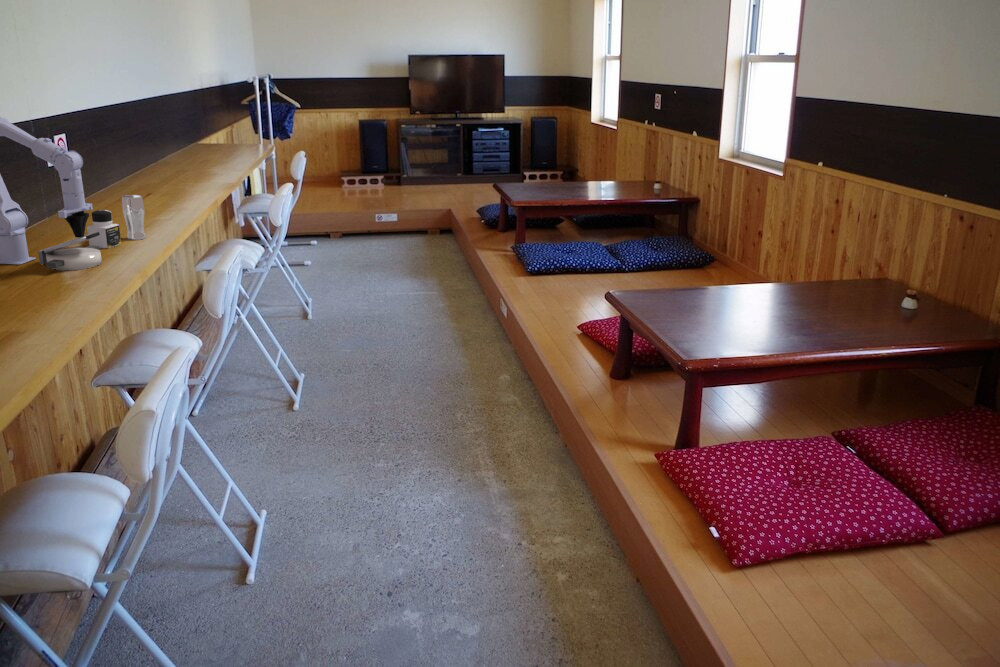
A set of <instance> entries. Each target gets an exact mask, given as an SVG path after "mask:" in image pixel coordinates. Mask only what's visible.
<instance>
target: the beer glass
mask: <svg viewBox="0 0 1000 667" xmlns="http://www.w3.org/2000/svg"><path fill="white" fill-rule="evenodd" d="M143 199H144V198H143V196H142V195H140V194H125V195H122V196H121V207H122V214H123V217H124V221H125V224H126V228H127V235H126V236H127V237H126V239H127V240H128V241H129V240H130V241H141V240H145V239H146V237H147V236H146V233H145V228H144V227H145V226H144V223H145V205H144V200H143Z"/></svg>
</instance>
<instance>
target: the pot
mask: <svg viewBox="0 0 1000 667" xmlns="http://www.w3.org/2000/svg"><path fill="white" fill-rule="evenodd" d="M50 247H51V246H48V247H46V248H44V249H47V248H50ZM44 249H41V250H38V251H37V254H38V260H39V265H40V264H45V266H46V268H47V269H50V268H51V269H50V270H54V269H56V270H55V271H64V270H69V271H82V270H88V269H87V268H89V269H92V268H91V267H93V268H95V267H94V266H96V267H98V266H97V265H99V264H101V263H102V264H103V260H102V254H101V248H99V246H91V245H87V246H86V247H70V248H69V247H66V248H62V249H59V250H56V251H53V252H49V253H46V254H45V253H43V250H44ZM102 264H101V265H102ZM99 266H100V265H99Z"/></svg>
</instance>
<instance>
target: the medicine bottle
mask: <svg viewBox="0 0 1000 667" xmlns="http://www.w3.org/2000/svg"><path fill="white" fill-rule="evenodd" d="M91 218H92V219H91V220H92V224H91V225H88V226H87V227H86V229H87V235H88V234H92V233H97V232H99V233H100V235H99V236H96V237H94V238H91V239H88V243H89V245H88V246H90V245H91V246H99V248H100V249H106V248H108V249H112V248H114V246H115V247H117V246H120V245H122V239H121V230H120V225H119V224H118V223H113V215H112V211H110V210H107V209H99V210H94V211H92V212H91Z"/></svg>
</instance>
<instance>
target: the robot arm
mask: <svg viewBox="0 0 1000 667" xmlns="http://www.w3.org/2000/svg"><path fill="white" fill-rule="evenodd" d="M0 137H6V138H8V139H10V140H12V141H14V142H16V143H19V144H20V145H23V146H24V147H27V148H29V149H31V152H32V154H33V155H34V156H36V157H38V158H39V159H41V160H44V161H45V162H47V163H48V164H49V163H50V164H51V165H53V167H54V169H55V170H56V171H57V172H58V177H59V179H60V186H61V193H62V199H63V208H62V209H61V210H57V214H58V215H57V216H58V219H64V220H65V221H66V222H67V224H68V225H69V227H70V229H71V230H72V232H73V235H74V236H75V238H81V237H84V236H85V235H86V226H87V222H88V219H89V217H90V214H89V212H86V211H92V210H93V209H94V208H93V203H91V202H90V203H89V202H86V199H85V192H84V185H83V184H84V183H83V178H82V171H81V169H82V167H83V166H84V158H83V157H82V155H81V154H80V153H78V152H77V151H76V150H67V148H66V147H64V146H60V145H58V144H56V143H54V142H52V139H51V138H49V137H39V138H36V137H35V136H33V135H31V134H29V133H28V132H26V131H25V130H23V129H22V128H20V127H18V126H17V125H15V124H13V123H12V122H10V121H9V120H8V119H7V118H5V117H2V116H0ZM28 225H29V218H28V215H27V214H26V213H25V211H23V210H22V208H21V206H20V204H19V203H17V202H15V201H14V200H13V199H12V198H11V196H10V193H9V191H8V189H7V186H6V184H5V182H4V179H3V177H2V175H1V173H0V265H17V266H18V265H23V264H25V263H28V262H31V261H34V260H36V258H37V257H34V256H30V255H29V249H28V243H27V237H26V236H27V235H26V228H27V226H28Z"/></svg>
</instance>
